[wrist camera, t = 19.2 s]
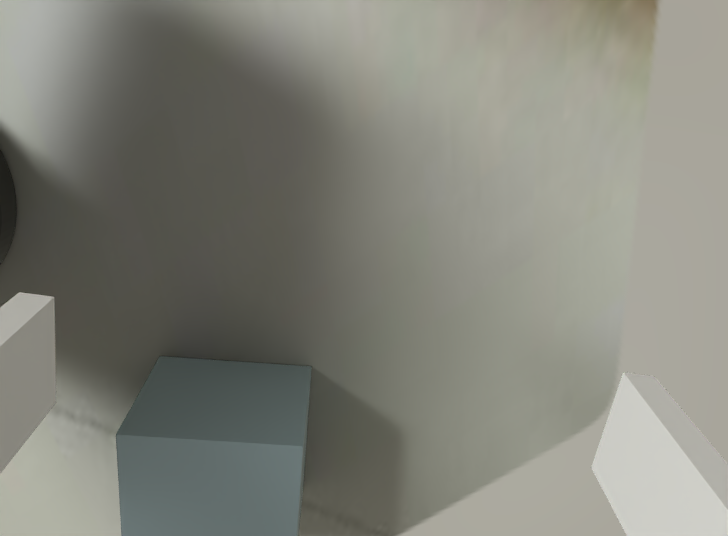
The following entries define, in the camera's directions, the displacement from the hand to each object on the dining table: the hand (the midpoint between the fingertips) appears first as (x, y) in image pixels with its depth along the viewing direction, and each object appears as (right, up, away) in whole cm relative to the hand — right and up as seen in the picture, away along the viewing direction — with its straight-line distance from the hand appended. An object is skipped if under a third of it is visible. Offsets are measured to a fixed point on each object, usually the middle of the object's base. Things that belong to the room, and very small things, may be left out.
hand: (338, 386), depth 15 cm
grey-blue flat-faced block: (-8, -8, +31) cm, 33 cm away
